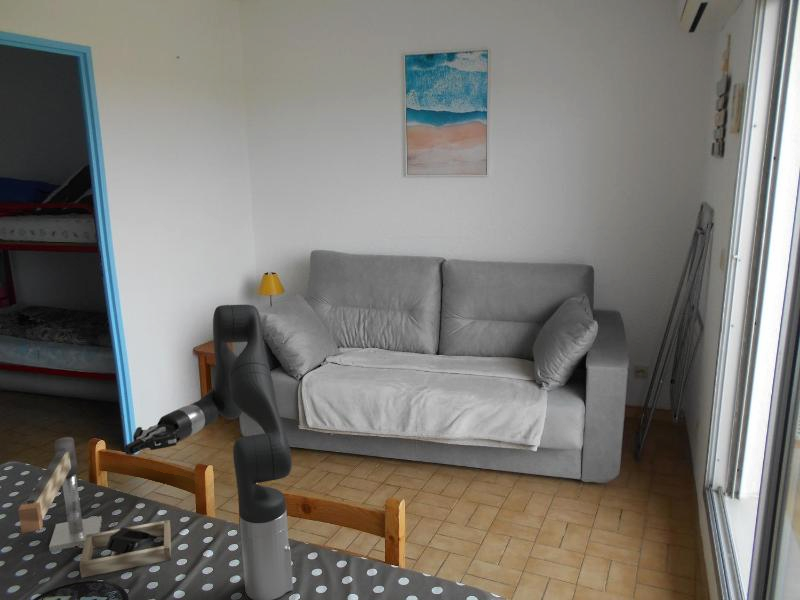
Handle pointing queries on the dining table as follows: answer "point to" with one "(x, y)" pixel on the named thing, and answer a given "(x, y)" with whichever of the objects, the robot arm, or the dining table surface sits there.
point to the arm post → (73, 520)
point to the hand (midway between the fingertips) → (127, 450)
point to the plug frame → (126, 559)
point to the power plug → (126, 540)
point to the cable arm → (48, 485)
